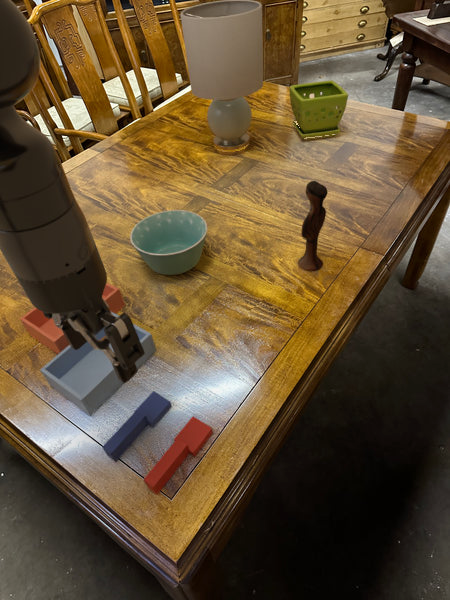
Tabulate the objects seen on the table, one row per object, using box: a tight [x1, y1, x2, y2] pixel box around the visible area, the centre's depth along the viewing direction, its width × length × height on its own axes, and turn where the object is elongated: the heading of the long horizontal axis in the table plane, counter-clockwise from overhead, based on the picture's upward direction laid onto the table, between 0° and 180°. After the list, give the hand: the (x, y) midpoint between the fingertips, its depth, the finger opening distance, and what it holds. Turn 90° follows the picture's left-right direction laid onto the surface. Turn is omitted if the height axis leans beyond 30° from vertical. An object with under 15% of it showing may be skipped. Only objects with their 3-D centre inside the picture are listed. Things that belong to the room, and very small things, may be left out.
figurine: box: [297, 180, 329, 272], centre depth 80 cm, size 7×5×18 cm
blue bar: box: [101, 390, 173, 463], centre depth 61 cm, size 11×4×3 cm, turn 144°
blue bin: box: [39, 311, 157, 417], centre depth 70 cm, size 15×10×4 cm
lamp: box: [180, 0, 264, 156], centre depth 115 cm, size 20×20×35 cm
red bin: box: [19, 281, 126, 355], centre depth 78 cm, size 15×10×4 cm
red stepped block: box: [143, 415, 214, 496], centre depth 58 cm, size 11×4×3 cm, turn 144°
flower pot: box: [289, 80, 349, 141], centre depth 125 cm, size 14×14×13 cm
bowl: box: [129, 209, 208, 276], centre depth 87 cm, size 16×16×8 cm
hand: (104, 359), depth 49 cm, fingers open, 8 cm apart
